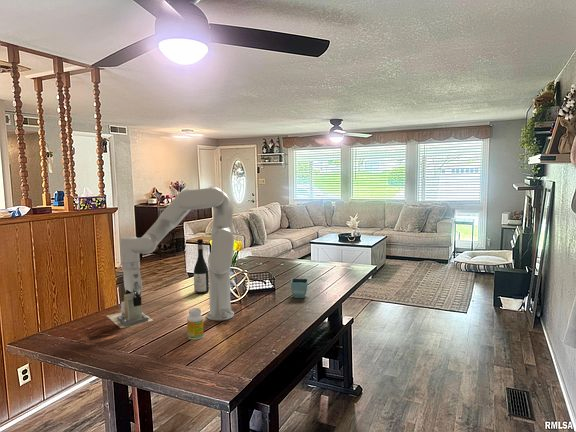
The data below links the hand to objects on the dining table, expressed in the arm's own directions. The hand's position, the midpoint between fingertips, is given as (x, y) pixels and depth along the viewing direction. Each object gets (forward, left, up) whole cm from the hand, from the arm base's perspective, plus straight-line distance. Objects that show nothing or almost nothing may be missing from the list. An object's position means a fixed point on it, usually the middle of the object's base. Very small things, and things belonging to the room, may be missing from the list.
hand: (133, 303), depth 175 cm
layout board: (+5, 0, -10) cm, 11 cm away
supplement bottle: (-31, -14, -10) cm, 35 cm away
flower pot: (-20, -81, -10) cm, 84 cm away
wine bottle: (+23, -46, -10) cm, 52 cm away
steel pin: (+11, 0, -8) cm, 13 cm away
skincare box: (0, 0, -8) cm, 8 cm away
